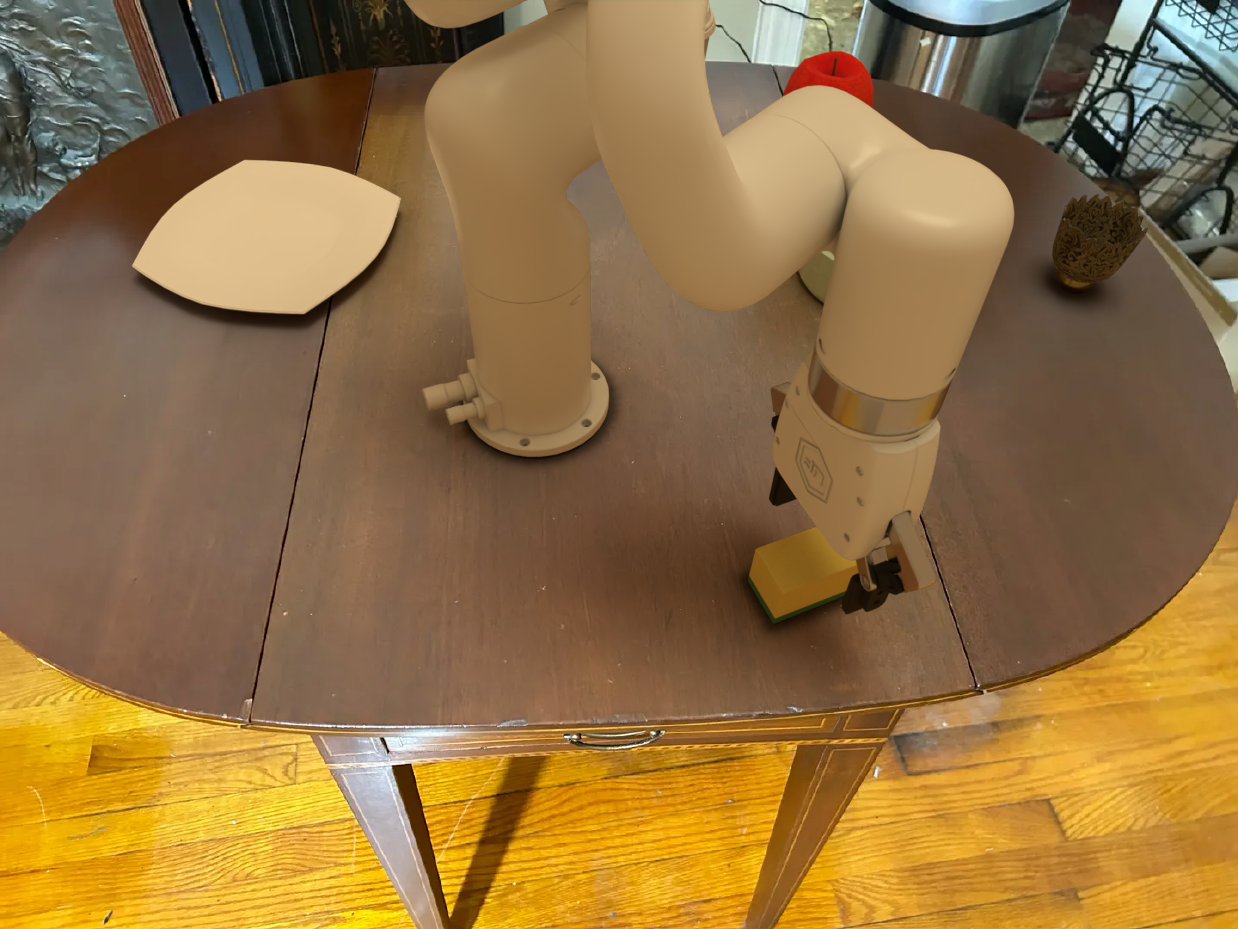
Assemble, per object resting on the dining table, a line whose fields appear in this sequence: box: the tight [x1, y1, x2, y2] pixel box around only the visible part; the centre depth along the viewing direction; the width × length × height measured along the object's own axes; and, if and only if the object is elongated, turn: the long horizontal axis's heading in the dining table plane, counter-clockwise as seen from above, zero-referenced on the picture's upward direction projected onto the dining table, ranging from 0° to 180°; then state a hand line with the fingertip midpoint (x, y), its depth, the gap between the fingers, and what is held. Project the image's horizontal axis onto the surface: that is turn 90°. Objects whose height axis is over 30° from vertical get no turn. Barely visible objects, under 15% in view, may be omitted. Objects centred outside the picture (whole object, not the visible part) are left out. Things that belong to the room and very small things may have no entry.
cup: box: [1051, 193, 1149, 293], centre depth 88 cm, size 8×7×8 cm
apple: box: [782, 50, 875, 108], centre depth 98 cm, size 10×10×12 cm
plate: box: [131, 159, 402, 316], centre depth 91 cm, size 23×23×2 cm
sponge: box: [747, 526, 858, 625], centre depth 67 cm, size 7×4×4 cm, turn 113°
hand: (824, 548), depth 64 cm, fingers open, 9 cm apart
